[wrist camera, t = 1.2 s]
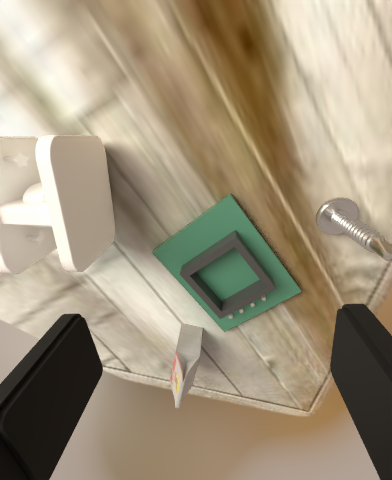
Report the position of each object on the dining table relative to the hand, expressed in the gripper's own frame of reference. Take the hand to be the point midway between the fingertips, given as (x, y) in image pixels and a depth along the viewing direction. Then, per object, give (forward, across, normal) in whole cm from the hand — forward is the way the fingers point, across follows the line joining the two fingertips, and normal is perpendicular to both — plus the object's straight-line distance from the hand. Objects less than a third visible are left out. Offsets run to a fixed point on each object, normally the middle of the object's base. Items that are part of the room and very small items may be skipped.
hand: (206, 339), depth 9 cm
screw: (+26, -15, +4) cm, 30 cm away
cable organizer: (+26, +20, -2) cm, 32 cm away
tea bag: (+26, +7, +26) cm, 37 cm away
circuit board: (+26, 0, +12) cm, 28 cm away
